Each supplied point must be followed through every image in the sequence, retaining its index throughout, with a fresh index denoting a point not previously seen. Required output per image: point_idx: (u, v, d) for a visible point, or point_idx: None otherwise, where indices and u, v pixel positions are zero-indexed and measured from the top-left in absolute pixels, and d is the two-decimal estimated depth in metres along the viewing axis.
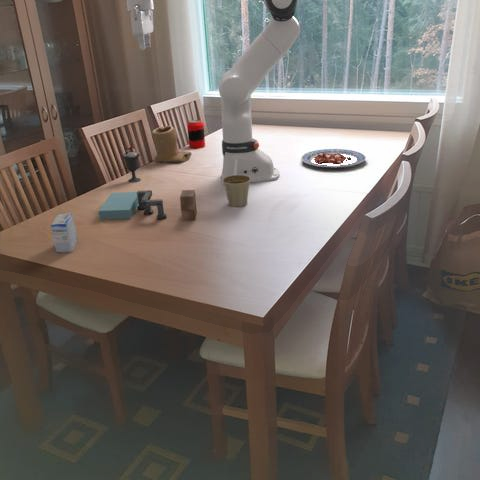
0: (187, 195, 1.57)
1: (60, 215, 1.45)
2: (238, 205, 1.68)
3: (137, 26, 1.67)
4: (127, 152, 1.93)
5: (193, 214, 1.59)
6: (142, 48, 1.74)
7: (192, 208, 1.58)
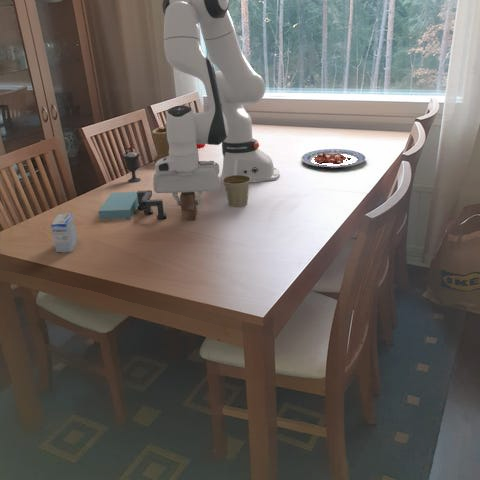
0: (187, 195, 1.57)
1: (60, 215, 1.45)
2: (238, 205, 1.68)
3: (218, 180, 1.57)
4: (127, 152, 1.93)
5: (193, 214, 1.59)
6: (199, 203, 1.60)
7: (192, 208, 1.58)
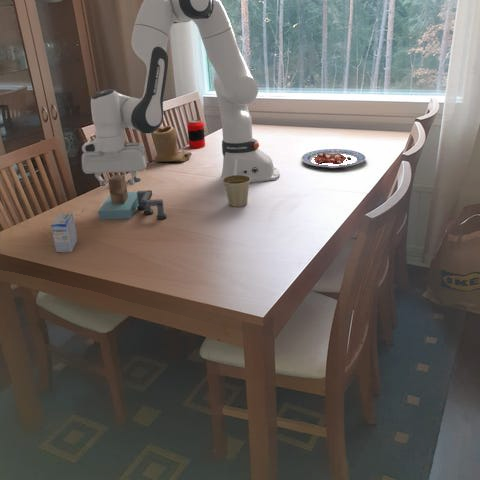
0: (115, 179, 1.65)
1: (60, 215, 1.45)
2: (238, 205, 1.68)
3: (144, 161, 1.64)
4: None
5: (122, 198, 1.66)
6: (133, 183, 1.67)
7: (120, 192, 1.65)
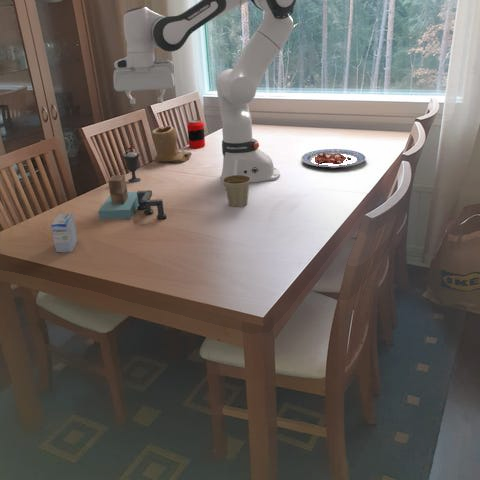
0: (115, 179, 1.65)
1: (60, 215, 1.45)
2: (238, 205, 1.68)
3: (173, 79, 1.72)
4: (127, 152, 1.93)
5: (122, 198, 1.66)
6: (162, 101, 1.75)
7: (120, 192, 1.65)
